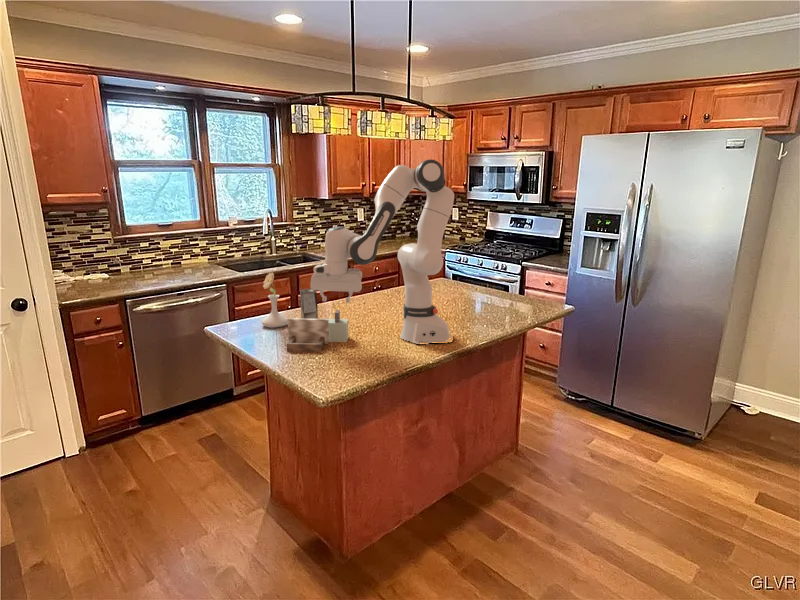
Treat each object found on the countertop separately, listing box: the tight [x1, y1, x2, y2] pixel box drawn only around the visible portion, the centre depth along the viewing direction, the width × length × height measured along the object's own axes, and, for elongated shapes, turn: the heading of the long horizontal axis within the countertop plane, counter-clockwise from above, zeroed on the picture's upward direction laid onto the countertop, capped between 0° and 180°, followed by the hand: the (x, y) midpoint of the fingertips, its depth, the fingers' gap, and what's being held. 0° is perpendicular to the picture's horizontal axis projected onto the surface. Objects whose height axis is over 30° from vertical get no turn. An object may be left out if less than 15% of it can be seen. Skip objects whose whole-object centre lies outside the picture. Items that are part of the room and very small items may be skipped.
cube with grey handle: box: [327, 309, 349, 343], centre depth 194 cm, size 8×6×12 cm
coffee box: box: [299, 288, 319, 319], centre depth 211 cm, size 9×6×16 cm
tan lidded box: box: [286, 317, 330, 353], centre depth 185 cm, size 16×11×10 cm
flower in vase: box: [261, 271, 288, 328], centre depth 208 cm, size 13×11×25 cm
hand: (336, 301), depth 191 cm, fingers open, 8 cm apart
